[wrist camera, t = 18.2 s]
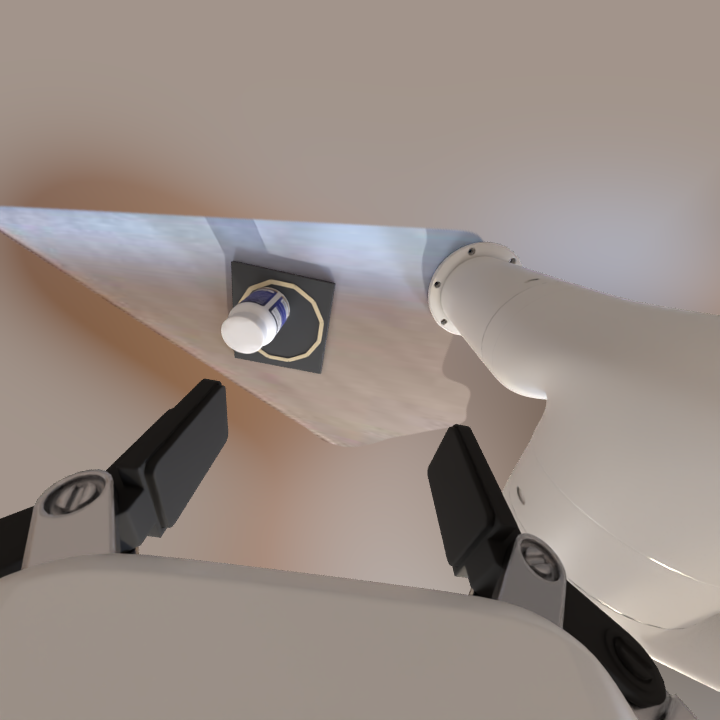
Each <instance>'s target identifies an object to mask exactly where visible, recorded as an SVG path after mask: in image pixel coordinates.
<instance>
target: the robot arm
mask: <svg viewBox="0 0 720 720" xmlns="http://www.w3.org/2000/svg"><path fill="white" fill-rule="evenodd" d="M469 249H471V252H470V253H468V251H469ZM510 259H511V261H510V262H509V260H510ZM435 282H438V284H437V285H435ZM428 304H429V309H430V311H431V314H432V316H433V317H434V319H435V321H436V322H437V323H438V324H439V325H440V326H441V327H442V328H444V329H445V330H446V331H448V332H451V333H453V334H457V335H462V336H463V338H464V339H465V340H466V341H467V343H468V344H469V345H470V347H471V348H472V349H473V350H474V351H475V353H476V354H477V355H478V357H479V358H480V359H481V360H482V362H483V363H484V364H485V365H486V367H487V368H488V369H489V370H490V371H491V373H492V374H493V375H494V376H495V377H496V379H497V380H498V381H499V382H500V383H501V384H503V385H504V386H505V387H507V388H508V389H510V390H512V391H513V392H515V393H518V394H520V395H523V396H527V397H532V398H538V399H547V405H546V408H545V411H544V414H543V416H542V418H541V420H540V422H539V423H538V425H537V427H536V429H535V431H534V433H533V437H532V438H531V440H530V442H529V444H528V445H527V447H526V449H525V451H524V452H523V454H522V456H521V458H520V459H519V461H518V463H517V465H516V466H515V468H514V470H513V472H512V473H511V476H510V477H509V479H508V481H507V483H506V485H505V488H504V489H503V492H501V490H500V488H499V486H498V484H497V482H496V480H495V477H494V475H493V473H492V471H491V469H490V467H489V465H488V463H487V461H486V459H485V457H484V455H483V453H482V451H481V449H480V447H479V445H478V443H477V440H476V438H475V436H474V434H473V433H472V430H471V428H470V427H468V426H463V425H458V424H455V425H453V427H449V428H448V430H447V432H446V434H445V436H444V438H443V440H442V442H441V444H440V446H439V448H438V450H437V452H436V454H435V455H434V457H433V460H432V461H431V463H430V465H429V467H428V479H429V483H430V488H431V492H432V496H433V500H434V505H435V509H436V514H437V518H438V522H439V526H440V530H441V535H442V539H443V544H444V548H445V552H446V557H447V560H448V562H449V564H450V565H451V566H453V571H454V575H455V576H457V577H465V578H468V579H469V582H470V586H471V590H470V592H469V595H465V594H459V593H452V592H446V591H439V590H431V589H424V588H416V587H409V586H401V585H394V584H386V583H378V582H371V581H363V580H354V579H347V578H339V577H332V576H324V575H316V574H308V573H299V572H292V571H284V570H276V569H268V568H259V567H251V566H243V565H234V564H226V563H218V562H209V561H201V560H192V559H182V558H172V557H162V556H152V555H141V554H139V547H138V546H140V545H141V544H142V543H143V541H144V540H145V538H146V537H147V536H152V537H159V538H161V536H162V535H163V533H164V531H165V530H166V529H167V528H170V527H172V526H173V525H174V524H175V523H176V521H177V519H178V518H179V516H180V515H181V513H182V511H183V510H184V508H185V507H186V505H187V503H188V502H189V500H190V499H191V497H192V495H193V494H194V492H195V490H196V489H197V487H198V486H199V484H200V483H201V481H202V480H203V478H204V476H205V475H206V473H207V472H208V470H209V468H210V467H211V465H212V463H213V462H214V460H215V458H216V457H217V455H218V454H219V452H220V450H221V449H222V448H223V446H224V444H225V443H226V441H227V438H228V423H227V406H226V390H225V386H222V385H221V382H220V381H215V380H209V379H203V380H202V381H201V382H199V384H197V386H195V388H193V389H192V391H190V392H189V393H188V394H187V395H186V396H185V397H184V398H183V399H182V400H181V401H180V402H179V403H178V404H177V405H176V406H175V407H174V408H172V409H169V410H168V411H167V412H166V413H165V414H164V415H163V416H162V417H160V419H158V420H157V422H155V423H154V424H153V425H152V426H151V427H150V428H149V429H148V430H147V431H146V432H145V433H144V434H143V435H142V436H141V437H140V438H139V439H138V440H137V441H136V442H135V443H134V444H133V445H132V446H131V447H130V448H129V449H128V450H127V451H126V452H125V453H124V454H122V455H121V457H119V458H118V459H117V460H116V461H115V462H114V463H113V464H112V465H111V466H110V467H109V468H108V469H107V470H106V471H103V470H99V469H98V470H86V471H81V472H78V473H75V474H72V475H70V476H67V477H65V478H63V479H61V480H60V481H58V482H56V483H54V484H53V485H52V486H50V487H49V488H48V489H47V490H45V491H44V492H43V493H42V495H41V496H40V497H39V498H38V499H37V501H36V503H35V506H33V507H30V508H27V509H25V510H22V511H19V512H17V513H14V514H12V515H9V516H6V517H4V518H1V519H0V720H699V719H698V718H697V717H696V716H695V715H694V714H693V712H691V710H690V709H689V708H688V707H687V706H686V705H685V704H684V703H683V701H682V700H681V699H680V698H679V697H678V696H677V695H676V694H674V695H670V694H669V693H668V692H667V691H666V689H665V685H664V681H663V679H662V677H661V674H660V672H659V670H658V668H657V667H656V665H655V664H654V662H653V660H652V659H654V660H656V661H658V662H660V663H662V664H664V665H666V666H668V667H670V668H672V669H674V670H676V671H678V672H680V673H682V674H684V675H686V676H688V677H691V678H692V679H694V680H696V681H699V682H701V683H703V684H705V685H707V686H709V687H711V688H713V689H715V690H717V691H719V692H720V315H715V314H708V313H701V312H694V311H688V310H682V309H676V308H669V307H663V306H658V305H653V304H648V303H643V302H638V301H634V300H629V299H625V298H621V297H617V296H614V295H610V294H607V293H604V292H600V291H597V290H593V289H591V288H587V287H584V286H581V285H578V284H575V283H571V282H568V281H565V280H562V279H559V278H555V277H553V276H550V275H547V274H543V273H540V272H537V271H534V270H531V269H528V268H525V267H523V265H522V263H521V261H520V259H519V258H518V256H517V255H516V254H515V253H514V252H513V251H512V250H510V249H509V248H507V247H505V246H503V245H500V244H497V243H492V242H478V243H472V244H469V245H466V246H464V247H461V248H459V249H458V250H456V251H454V252H453V253H451V254H450V255H449V256H448V257H447V258H446V259H444V261H443V262H442V263H441V264H440V265H439V266H438V268H437V270H436V271H435V273H434V275H433V277H432V279H431V282H430V285H429V290H428ZM442 319H444V320H443V321H441V320H442ZM651 658H652V659H651Z"/></svg>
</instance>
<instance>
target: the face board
mask: <svg viewBox="0 0 720 720" xmlns="http://www.w3.org/2000/svg"><path fill="white" fill-rule="evenodd" d="M231 268H232V296H233V308H234V307H235V306H236V305H237V304H238V303H240V302H241V301H242V300H244V299H245V298H246V297H248V296H249V295H250V294H251V293H253V292H254V291H255V290H257V289H259V288H263V287H269V288H273V289H276V290H278V291H279V292H281V293H282V294H283V295H284V296H285V298H286V299H287V301H288V303H289V307H290V312H289V316H288V318H287V320H286V321H285V323H284V324H283V326H282V327H281V329H280V330H279V331H278V333H277V334H276V336H275V337H274V339H273V340H272V341H271V342H270V343H268V344H266V345H264V346H262V347H261V348H260V349H259V350H258V351H256V352H254V353H249V354H246V353H240V352H237V351H235V350H234V351H235V358H239V359H244V360H250V361H255V362H260V363H265V364H271V365H276V366H281V367H287V368H292V369H297V370H302V371H308V372H313V373H318V374H321V369H322V363H323V357H324V351H325V344H326V338H327V332H328V326H329V320H330V313H331V307H332V301H333V295H334V288H335V283H332V282H327V281H323V280H318V279H314V278H309V277H304V276H300V275H295V274H291V273H286V272H282V271H277V270H272V269H268V268H263V267H259V266H254V265H250V264H245V263H241V262H236V261H232V262H231Z"/></svg>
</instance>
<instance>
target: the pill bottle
mask: <svg viewBox="0 0 720 720" xmlns="http://www.w3.org/2000/svg"><path fill="white" fill-rule="evenodd" d="M289 312H290V307H289V303H288V301H287V299H286V298H285V296H284V295H283V294H282V293H281V292H279V291H278V290H276V289H273V288H269V287H263V288H259V289H257V290H255V291H254V292H253V293H251V294H250V295H249V296H248V297H246V298H245V299H244V300H242V301H241V302H240V303H238V304H237V305H236V306H235V307H234V308H233V309H232V310H231V311H230V313H229V316H228V318H227V319H226V320H225V321H224V322H223V324H222V327H221V334H222V337H223V339H224V341H225V342H226V344H227V345H228V346H229V347H231V348H232V349H234V350H235V351H237V352H240V353H246V354H249V353H254V352H256V351H258V350H259V349H260V348H261V347H262V346H264V345H266V344H268V343H270V342H271V341H272V340H273V339H274V337H275V336H276V334H277V333H278V331H279V330H280V329H281V327H282V326H283V324H284V323H285V321H286V320H287V318H288V316H289Z"/></svg>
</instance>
